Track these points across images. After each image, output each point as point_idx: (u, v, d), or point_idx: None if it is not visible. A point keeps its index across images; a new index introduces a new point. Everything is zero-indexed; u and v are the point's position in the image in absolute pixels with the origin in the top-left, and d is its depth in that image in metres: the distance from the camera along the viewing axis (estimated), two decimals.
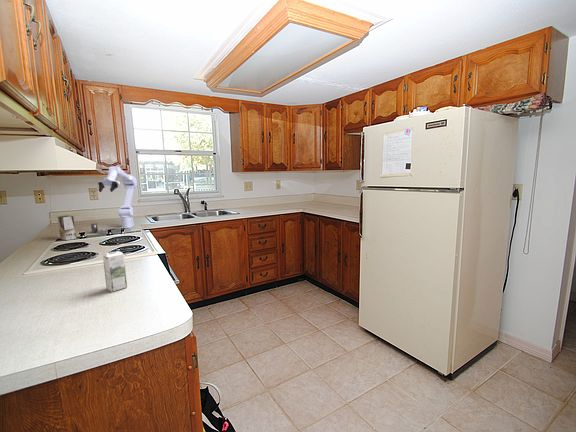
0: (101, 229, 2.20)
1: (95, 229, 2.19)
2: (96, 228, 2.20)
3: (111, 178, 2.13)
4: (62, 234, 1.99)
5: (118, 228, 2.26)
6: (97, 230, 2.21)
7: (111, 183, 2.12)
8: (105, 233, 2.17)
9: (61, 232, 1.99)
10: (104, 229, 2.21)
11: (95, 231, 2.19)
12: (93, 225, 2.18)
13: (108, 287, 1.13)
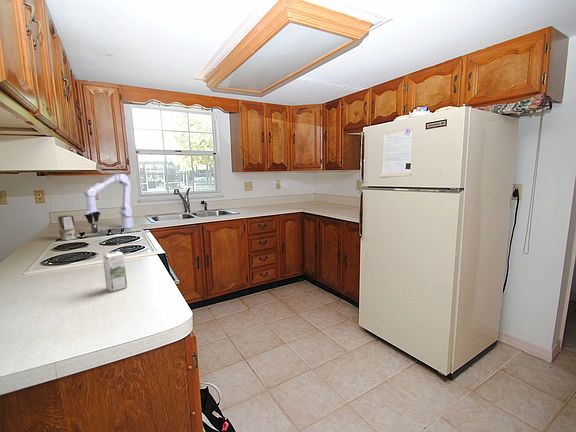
0: (101, 229, 2.20)
1: (95, 229, 2.19)
2: (96, 228, 2.20)
3: (87, 208, 2.16)
4: (62, 234, 1.99)
5: (118, 228, 2.26)
6: (97, 230, 2.21)
7: (90, 213, 2.16)
8: (105, 233, 2.17)
9: (61, 232, 1.99)
10: (104, 229, 2.21)
11: (95, 231, 2.19)
12: (93, 225, 2.18)
13: (108, 287, 1.13)
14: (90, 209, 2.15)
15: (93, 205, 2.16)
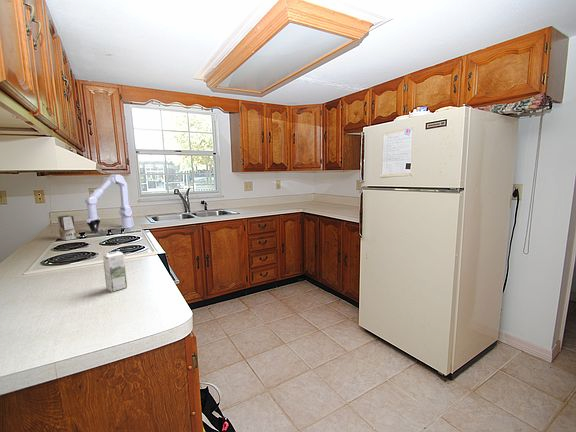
0: (101, 229, 2.20)
1: (95, 229, 2.19)
2: (96, 228, 2.20)
3: (88, 216, 2.17)
4: (62, 234, 1.99)
5: (118, 228, 2.26)
6: (97, 230, 2.21)
7: None
8: (105, 233, 2.17)
9: (61, 232, 1.99)
10: (104, 229, 2.21)
11: (95, 231, 2.19)
12: None
13: (108, 287, 1.13)
14: (91, 217, 2.16)
15: (94, 213, 2.17)
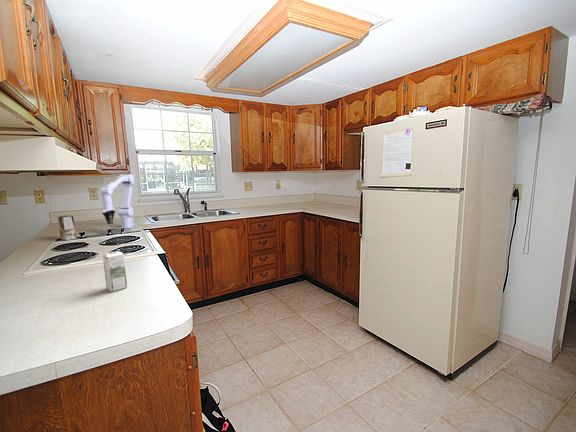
0: (101, 229, 2.20)
1: (110, 220, 2.19)
2: (111, 219, 2.20)
3: (104, 207, 2.17)
4: (62, 234, 1.99)
5: (118, 228, 2.26)
6: (112, 221, 2.21)
7: None
8: (105, 233, 2.17)
9: (61, 232, 1.99)
10: (104, 229, 2.21)
11: (110, 222, 2.19)
12: None
13: (108, 287, 1.13)
14: (107, 207, 2.16)
15: (109, 203, 2.17)
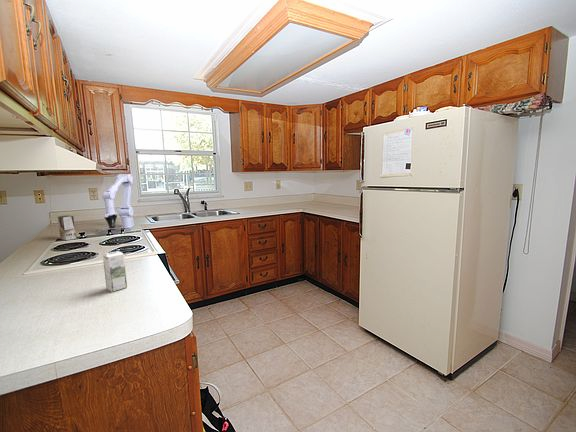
0: (101, 229, 2.20)
1: (112, 224, 2.20)
2: (113, 223, 2.20)
3: (106, 211, 2.17)
4: (62, 234, 1.99)
5: (118, 228, 2.26)
6: (114, 225, 2.21)
7: None
8: (105, 233, 2.17)
9: (61, 232, 1.99)
10: (104, 229, 2.21)
11: (112, 226, 2.20)
12: None
13: (108, 287, 1.13)
14: (109, 212, 2.17)
15: (112, 208, 2.17)
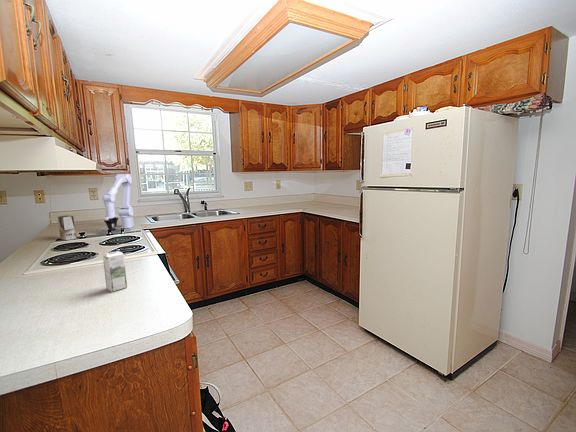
0: (101, 229, 2.20)
1: (113, 228, 2.20)
2: (114, 227, 2.21)
3: (106, 214, 2.18)
4: (62, 234, 1.99)
5: (118, 228, 2.26)
6: None
7: (109, 218, 2.18)
8: (105, 233, 2.17)
9: (61, 232, 1.99)
10: (104, 229, 2.21)
11: None
12: None
13: (108, 287, 1.13)
14: (109, 215, 2.17)
15: (112, 211, 2.18)
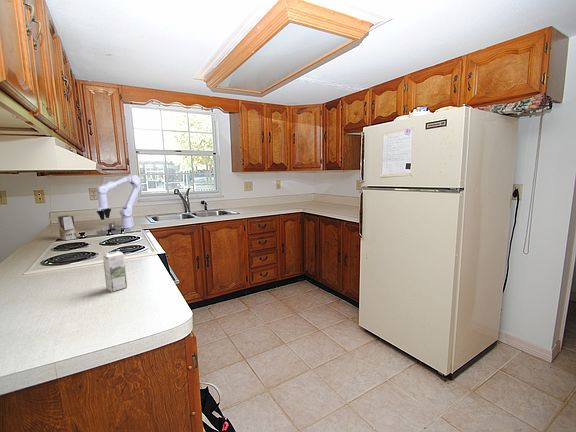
0: (101, 229, 2.20)
1: (113, 228, 2.20)
2: (114, 227, 2.21)
3: (99, 205, 2.23)
4: (62, 234, 1.99)
5: (118, 228, 2.26)
6: None
7: None
8: (105, 233, 2.17)
9: (61, 232, 1.99)
10: (104, 229, 2.21)
11: None
12: (111, 224, 2.19)
13: (108, 287, 1.13)
14: (102, 206, 2.22)
15: (105, 202, 2.23)
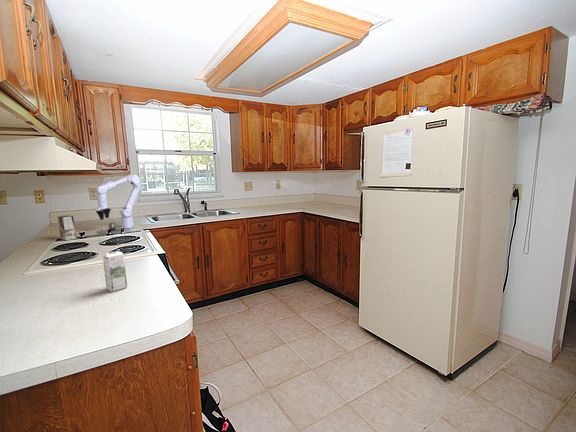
0: (101, 229, 2.20)
1: (113, 228, 2.20)
2: (114, 227, 2.21)
3: None
4: (62, 234, 1.99)
5: (118, 228, 2.26)
6: None
7: (101, 209, 2.24)
8: (105, 233, 2.17)
9: (61, 232, 1.99)
10: (104, 229, 2.21)
11: None
12: (111, 224, 2.19)
13: (108, 287, 1.13)
14: (101, 206, 2.23)
15: (104, 202, 2.24)
